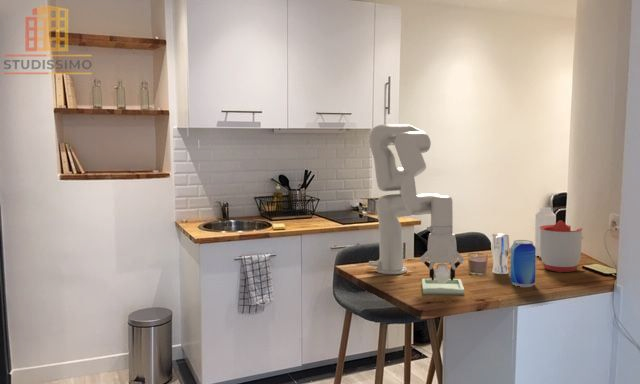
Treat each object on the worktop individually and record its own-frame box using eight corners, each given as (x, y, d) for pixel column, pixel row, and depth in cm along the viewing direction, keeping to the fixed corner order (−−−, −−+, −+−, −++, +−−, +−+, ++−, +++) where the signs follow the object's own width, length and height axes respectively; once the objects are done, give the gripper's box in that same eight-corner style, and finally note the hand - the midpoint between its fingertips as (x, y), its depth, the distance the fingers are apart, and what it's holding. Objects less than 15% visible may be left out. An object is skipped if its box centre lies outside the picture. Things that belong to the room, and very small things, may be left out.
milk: (555, 257, 237) (556, 208, 235) (543, 258, 235) (544, 208, 233) (546, 254, 243) (547, 206, 240) (534, 255, 241) (535, 207, 239)
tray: (422, 293, 187) (422, 288, 187) (422, 283, 201) (422, 278, 201) (464, 294, 185) (464, 289, 185) (460, 283, 199) (460, 279, 198)
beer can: (529, 281, 199) (529, 239, 198) (539, 287, 191) (539, 243, 189) (506, 282, 199) (507, 239, 197) (515, 288, 191) (516, 244, 189)
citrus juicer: (594, 271, 211) (595, 221, 209) (557, 275, 206) (558, 224, 204) (565, 263, 226) (566, 216, 224) (530, 266, 221) (531, 218, 219)
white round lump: (450, 284, 189) (450, 265, 188) (432, 284, 190) (432, 264, 190) (451, 280, 195) (451, 261, 194) (434, 279, 196) (433, 260, 196)
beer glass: (510, 274, 209) (510, 237, 208) (492, 274, 211) (492, 236, 209) (508, 270, 216) (508, 233, 215) (490, 270, 217) (490, 233, 216)
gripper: (417, 232, 189) (417, 282, 190) (467, 231, 186) (468, 282, 187) (417, 228, 196) (417, 276, 198) (465, 228, 193) (465, 277, 195)
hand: (442, 279), depth 192 cm, fingers closed on white round lump, 6 cm apart
